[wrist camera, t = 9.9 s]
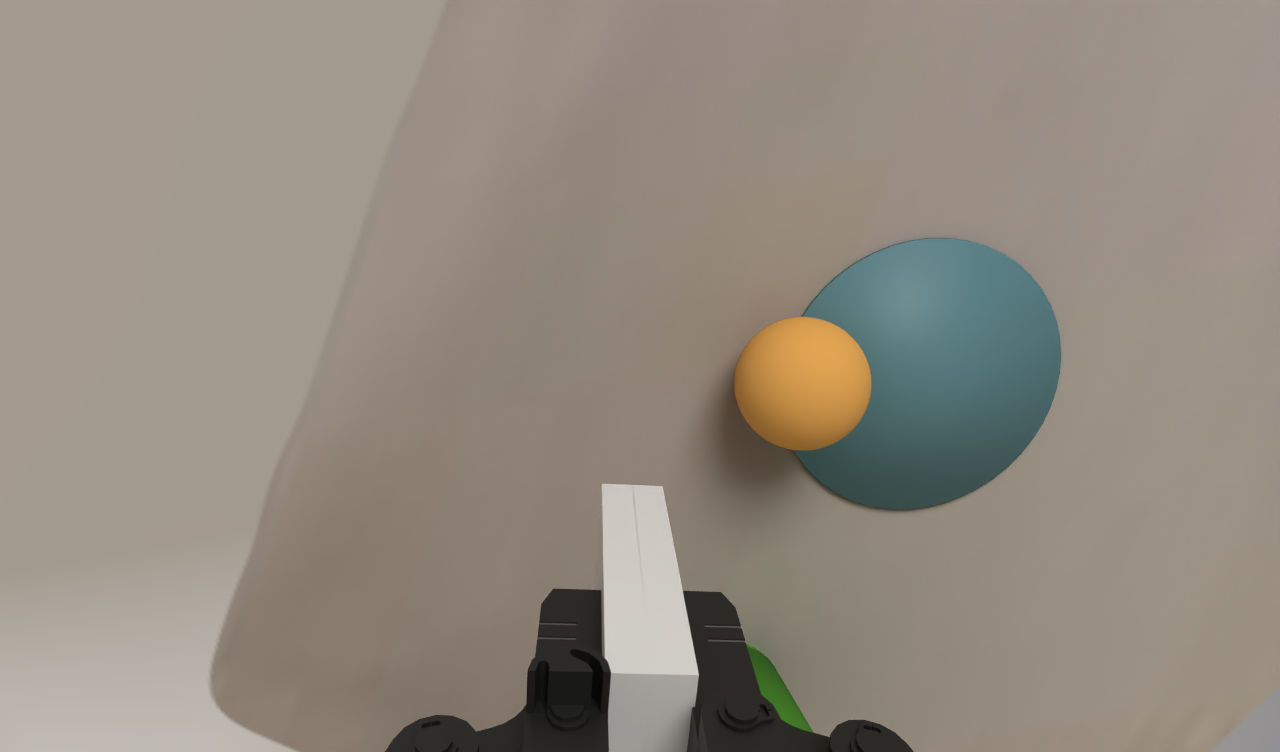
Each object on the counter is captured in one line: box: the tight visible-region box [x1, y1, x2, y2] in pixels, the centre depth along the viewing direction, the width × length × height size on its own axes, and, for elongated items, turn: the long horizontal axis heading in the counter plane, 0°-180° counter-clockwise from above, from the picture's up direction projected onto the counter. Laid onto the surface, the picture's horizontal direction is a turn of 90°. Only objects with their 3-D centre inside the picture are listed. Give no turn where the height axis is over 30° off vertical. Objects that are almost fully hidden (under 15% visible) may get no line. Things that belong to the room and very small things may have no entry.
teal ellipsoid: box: [794, 238, 1061, 510], centre depth 32 cm, size 13×13×1 cm
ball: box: [734, 317, 871, 451], centre depth 29 cm, size 6×6×6 cm
